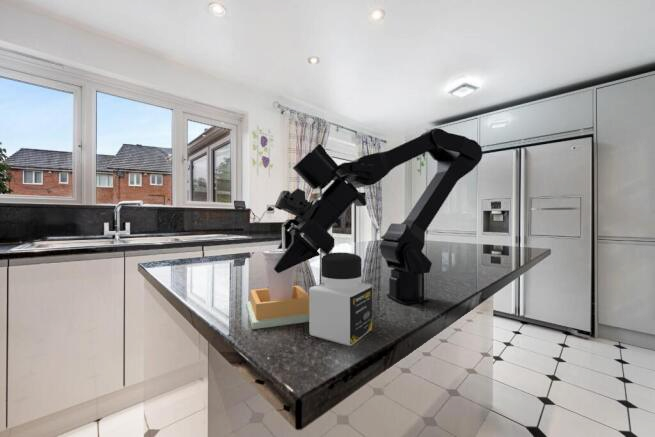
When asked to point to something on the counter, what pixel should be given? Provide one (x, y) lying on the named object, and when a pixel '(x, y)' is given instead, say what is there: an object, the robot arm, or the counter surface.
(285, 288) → the smoothie
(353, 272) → the medicine bottle
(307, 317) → the box
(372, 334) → the counter surface
